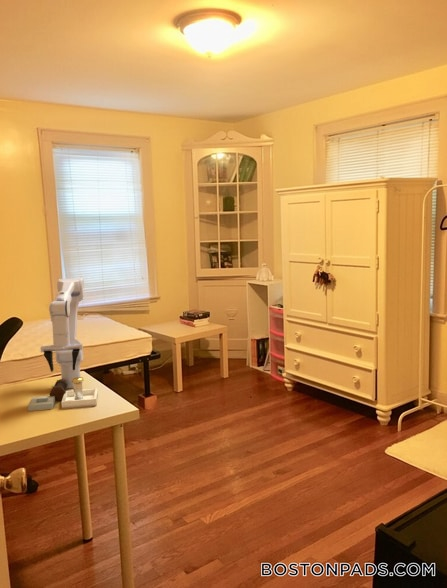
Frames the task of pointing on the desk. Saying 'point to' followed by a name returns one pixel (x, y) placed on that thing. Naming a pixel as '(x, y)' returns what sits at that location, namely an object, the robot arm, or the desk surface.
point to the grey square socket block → (41, 403)
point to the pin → (78, 388)
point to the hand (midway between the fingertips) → (63, 370)
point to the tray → (88, 399)
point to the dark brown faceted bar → (58, 389)
